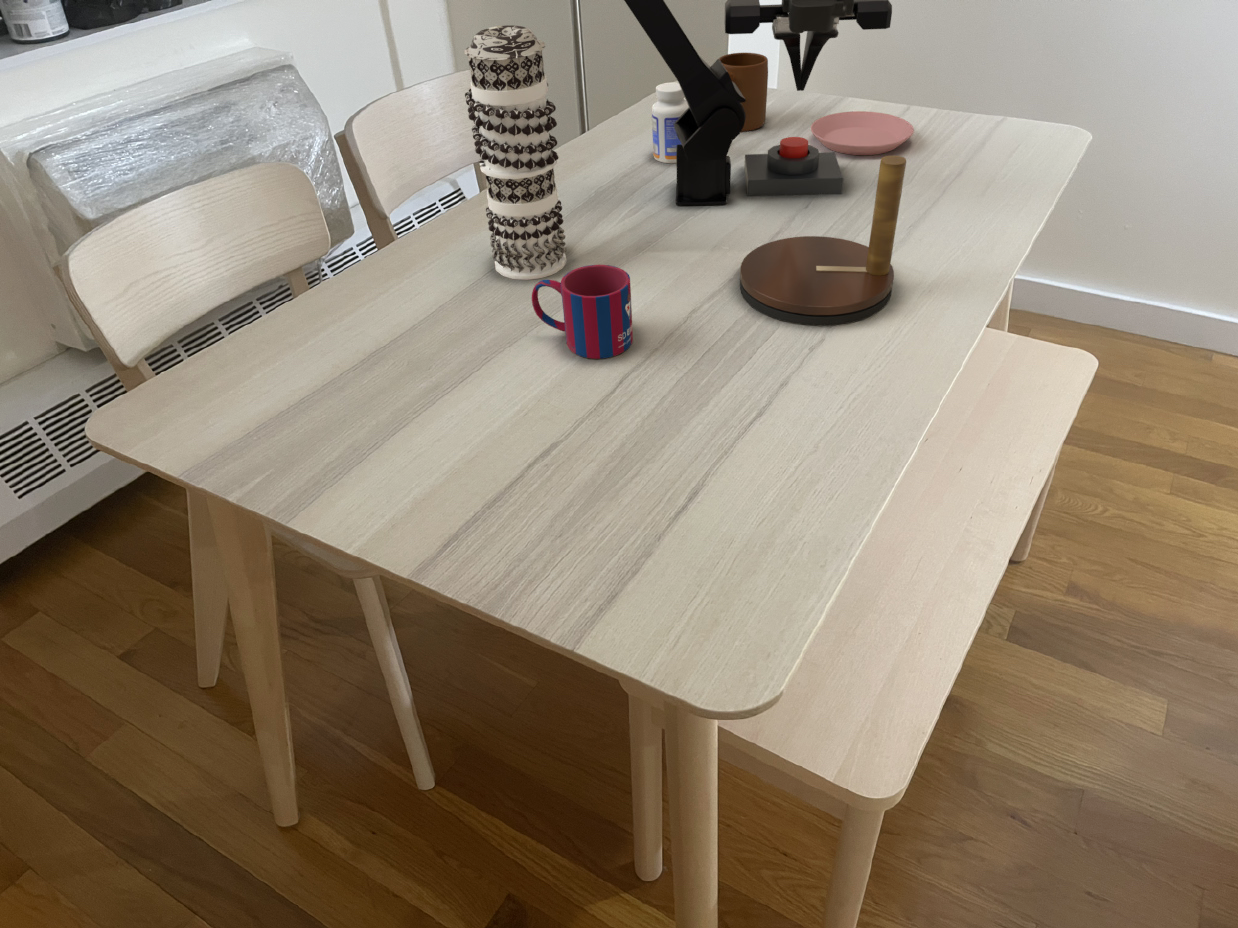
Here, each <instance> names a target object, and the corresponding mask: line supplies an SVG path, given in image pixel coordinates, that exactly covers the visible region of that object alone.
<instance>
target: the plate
mask: <svg viewBox="0 0 1238 928" xmlns="http://www.w3.org/2000/svg"><path fill="white" fill-rule="evenodd" d="M810 132H811V133H812V135H813V136H814V137H815V138H816V139H817V140H818V141H819V142H820V143H821V144H822V145H823V146H824V147H825V148H827V149H828V150H831V151H832V152H836V153H840V154H844V155H850V156H872V155H873V156H874V155H881V154H885V153H888V152H891V151H893V150H895V149H897V148H898V147H899V146H901V145H902V144H903V143H905V142H907V140H909V139H910V138H911V137H912V136H913V135H914V132H915V129H914V126H913V125H912V123H910V122H909V121H908V120H906V119H904V118H901V117H899V116H897V115H893V114H890V113H883V112H879V111H863V110H862V111H860V110H858V111H841V112H835V113H831V114H827V115H825V116H821V117H820V118H818V119H816V120H814V121H813V122H812V123H811V126H810Z"/></svg>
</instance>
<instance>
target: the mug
mask: <svg viewBox="0 0 1238 928" xmlns="http://www.w3.org/2000/svg"><path fill="white" fill-rule="evenodd" d="M718 59H719V60H720V61H721V63H722V64H723V66H724V67H725V69H726V70H727V72H728V73H729V75H730V78H731V80H732V82H734V83H735V84H736V86H737V87H738V89H739V90H740V92H741V93H742V95H743V96H744V98H745V99H746V101H745V102H742V103H741V104H742V106H743V108H744V111H745V114H746V119H745V123H744V127H743V129H742V131H741V132H743V133H744V132H750V131H751V132H752V131H755V130H758V129H760V128H761V127H762V126H763V125H764V124H765V122H766V117H767V102H768V101H767V100H768V82H769V60H768V57H767V56H766V55H763V54H760V53H755V52H733V53H728V54H724V55H722V56H720V57H719V58H718ZM741 132H740V133H741Z"/></svg>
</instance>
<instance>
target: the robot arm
mask: <svg viewBox="0 0 1238 928" xmlns="http://www.w3.org/2000/svg"><path fill="white" fill-rule="evenodd" d="M623 1H624V3H625V5H626V6H627V7H628V9H629V10H630V11H631V13H632V14H633V16H634V17H635V20H636V21H637V22H638V23H639V25H640V26H641V28H642V29H643V31H644V32H645V34H646V35H647V37H648V38H649V40H650V42H651V43H652V44H653V46H654V48H655V49H656V51H657V52H658V53H659V55H660V57H661V58H662V59H663V62H665V64H666V66H667V67H668V68H669V70H670V71H671V73H672V74H673V76H674V77H675V79H676V80H677V83H679V85H680V87H681V90H682V92H683V95H684V97H685V98H684V100H686V101H687V104H688V106H689V108H688V109H687V110H686V111H685V112H684V113H683V114H682V115H681V116H680V117H679V119H678V120H677V121H676V122H675V123H674V128H675V131H676V133H677V136H678V139H679V140H680V142H681V144H682V145H677V150H676V163H675V165H676V184H675V206H681V207H682V206H720V205H721V206H723V205H727V202H728V199H727V198H728V197H727V196H729V195H730V194H731V181H732V180H731V175H732V174H731V173H732V162H731V161H732V160H731V159H732V158H731V157H730V155H728V153H729V151H730V148H731V145H732V143H733V140H735V139H736V138H737V137H738V136H739V135H740V134H741V131H742V129H743V127H744V123H745V119H746V114H745V111H744V108H743V106H742V104H741V103H742V102H745V101H746V99H745V98H744V96H743V95H742V93H741V92H740V90H739V89H738V87H737V86H736V84H735V83H734V82H732V80H731V78H730V75H729V73H728V72H727V70H726V69H725V67H724V66H723V64H722V63H721V61H720V60H719V58H717V59H716V60H715V61H714V62H713V64H711V66H710V65H709V63H708V62H706V61H705V60H704V59H703V57H701V56H700V55H699V53H698V51H697V50H696V48H695V47H694V45H693V44H692V42H691V41H690V39H689V37H688V36H687V34H686V33H685V31H684V30H683V28H682V26H681V25H680V24H679V22H678V20H677V19H676V17H675V15H674V14H673V12H672V11H671V9H670V8H669V6H668V5H667V3H666V2H665V0H623ZM892 15H893V4H892V3H891V2H890V0H781V4H761V3H760V0H726V2H725V3H724V19H723V20H724V21H723V22H724V33H725V34H727V35H748V34H749V35H750V34H754V33H755V32H756V31H757V30H758V28H759V27H760V25H761V24H769V23H770V24H771V30H772V35H773V39H774V40H777V41H782V42H783V44H784V46H785V49H786V52H787V55H788V57H789V60H790V66H791V71H792V74H793V78H794V84H795V88H796V91H797V92H799V91H800V92H804V90H805V88H806V86H807V84H808V81H809V78H810V76H811V74H812V71H813V69H814V66H815V63H816V61H817V59H818V57H819V55H820V54H821V51H822V49H823V48H824V46H825V45H826V44H827V42H829V40H831V39H836V38H838V37H839V34H840V33H839V31H838V25H839V24H840V21H855V22H856V24H857V25H858V26H859V27H860V28H861V30H863V31H864V30H887V29H889V28H891V23H892ZM805 32H806V38H805V44H804V50H803V57H801V34H803V33H805ZM801 59H802V60H801Z"/></svg>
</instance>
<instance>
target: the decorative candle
mask: <svg viewBox="0 0 1238 928" xmlns="http://www.w3.org/2000/svg"><path fill="white" fill-rule="evenodd" d="M545 48H546V43H545V42H544V41H542V40H539V39H538V38H537V36H536V35H535V33H534V32H533V31H532V30H531V29H529V28H528V27H526V26H523V25H522V26H521V25H509V24H508V25H497V26H492V27H486V28H484V29H481V30H480V31H478V32H477V33H476V34H475V35H474V36H473V38H472V40H471V43H470V45H469V46H468V47H467V48H465V49H464V55H466V56H467V60H468V65H469V66H468V67H469V72H470V79H471V80H469V84H470V88H469V89H468V91H467V92H465V93H464V97H465V102H466V105H467V106H468V107H467V109H466V110H467V113H468V114H467V115H468V117H467V118H468V119H469V120H470V121H472V122H473V124H474V125H472V127H471V132H472V133H473V134H472V139H473V140H474V144H473V145H474V146H475V148H474V152H475V153H476V154H477V155H479V159H478V163H479V168H480V172H482V173H483V174H484V175H485V183H486V187H487V190H486V199H487V205H488V206H486V208H485V212H486V217H487V219H489V220H488V221H487V225H488V230H489V232H492V233H491V234H490V236H489V240H490V247H491V248H492V249H491V252H492V253H491V254H492V255H491V256H492V259H493V260H494V268H495V271H496V272H497V273H498V274H500V275H501V276H502V277H505V278H508V279H512V280H520V281H521V280H522V281H528V280H538V279H543V278H546V277H549V276H552V275H555V274H556V273H558V272H559V271H560V270H563V269H564V268H565V265H566V264H567V262H568V261H567V256H566V251H567V247H566V242H565V241H564V240H565V239H566V235H565V234H564V233H565V229H564V228H563V227H561V225H563V224H564V219H563V214H562V213H561V212H562V210H563V205H562V201H561V200H560V199H559V193H558V187H557V184H556V181H555V178H556V177H555V170H554V168H555V167H556V165H558V160H559V155H558V153H557V151H555V150H553V149H554V148H555V147H556V146H557V145H558V140H557V138H556V137H555V136H554V135H552V134H551V133H550V131H552V130H553V129H555V128H556V127H557V126H558V123H557V122H558V121H556V118H554V117H553V116H551V115H552V113H554V112H556V109H557V107H556V105H555V104H554V102H552V101H550V100H549V99H548V98H546V95H547V93H548V91H549V88H548V87H549V83H548V78H547V75H546V73H545V71H544V70H545V69H544V66H545V65H544V57H543V50H544V49H545ZM476 112H477V115H476Z"/></svg>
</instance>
